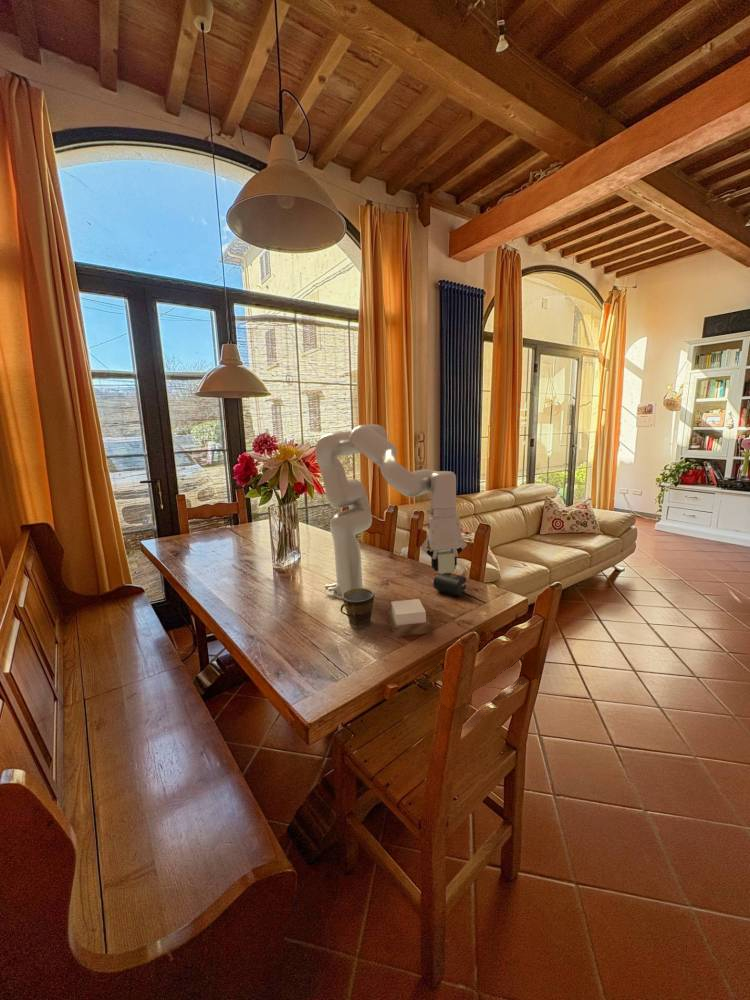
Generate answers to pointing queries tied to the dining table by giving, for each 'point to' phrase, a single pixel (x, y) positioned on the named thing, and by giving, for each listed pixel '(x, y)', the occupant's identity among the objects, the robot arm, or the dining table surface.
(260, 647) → the dining table surface
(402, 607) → the white slab
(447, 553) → the green block
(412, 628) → the walnut slab
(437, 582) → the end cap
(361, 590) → the ceramic cup
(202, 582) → the dining table surface
